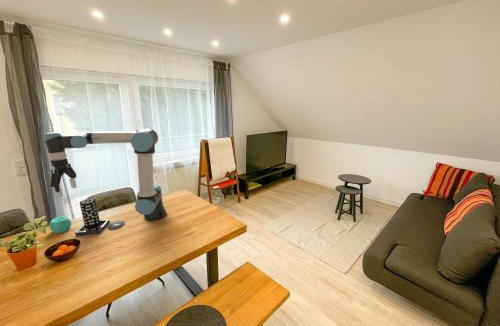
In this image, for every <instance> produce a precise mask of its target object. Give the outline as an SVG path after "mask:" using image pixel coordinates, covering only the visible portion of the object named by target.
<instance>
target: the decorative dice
mask: <svg viewBox="0 0 500 326" xmlns="http://www.w3.org/2000/svg"><path fill="white" fill-rule="evenodd" d="M48 227H49V229H50V230H51V232H53V234H62V233H64V231H65V232H66V231H67V232H68V230H70V228H71V227H72V221H71V219H70V218H69V217H68V216H66V215H65V216H64V215H61V216H57V217H54V218H52V219H51V220H50V222H49V226H48ZM61 232H62V233H61Z"/></svg>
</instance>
